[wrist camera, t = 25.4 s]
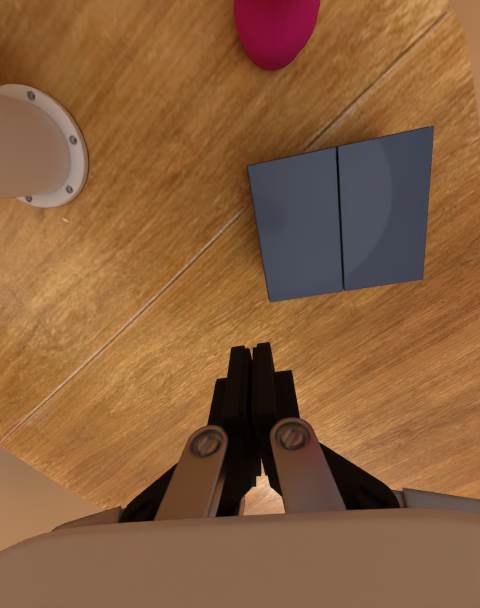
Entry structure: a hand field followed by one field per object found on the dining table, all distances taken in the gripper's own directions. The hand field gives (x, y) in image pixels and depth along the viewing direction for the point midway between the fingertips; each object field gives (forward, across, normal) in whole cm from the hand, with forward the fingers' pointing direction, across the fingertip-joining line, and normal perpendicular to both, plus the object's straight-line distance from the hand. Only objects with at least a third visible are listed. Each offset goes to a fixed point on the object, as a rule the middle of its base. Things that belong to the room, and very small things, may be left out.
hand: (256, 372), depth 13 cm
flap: (+17, -4, -2) cm, 18 cm away
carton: (+27, -8, -2) cm, 28 cm away
